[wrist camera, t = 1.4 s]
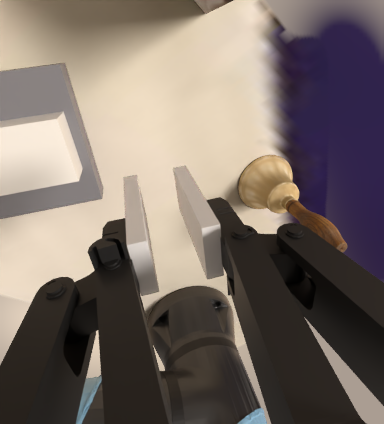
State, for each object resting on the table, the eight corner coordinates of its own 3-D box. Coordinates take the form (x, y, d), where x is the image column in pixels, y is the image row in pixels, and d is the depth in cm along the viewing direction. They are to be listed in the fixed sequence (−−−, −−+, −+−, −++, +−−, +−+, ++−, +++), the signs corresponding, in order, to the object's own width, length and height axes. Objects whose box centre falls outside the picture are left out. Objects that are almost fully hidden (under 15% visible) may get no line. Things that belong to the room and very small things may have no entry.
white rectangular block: (82, 168, 30) (78, 181, 27) (-6, 184, 29) (-20, 199, 26) (63, 111, 27) (56, 118, 24) (-37, 126, 26) (-57, 136, 23)
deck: (103, 188, 35) (102, 198, 32) (1, 207, 33) (-8, 220, 31) (64, 62, 28) (59, 64, 25) (-68, 80, 26) (-88, 83, 24)
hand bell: (287, 145, 38) (380, 197, 25) (294, 194, 42) (377, 261, 29) (231, 169, 38) (294, 234, 24) (245, 216, 42) (304, 293, 29)
